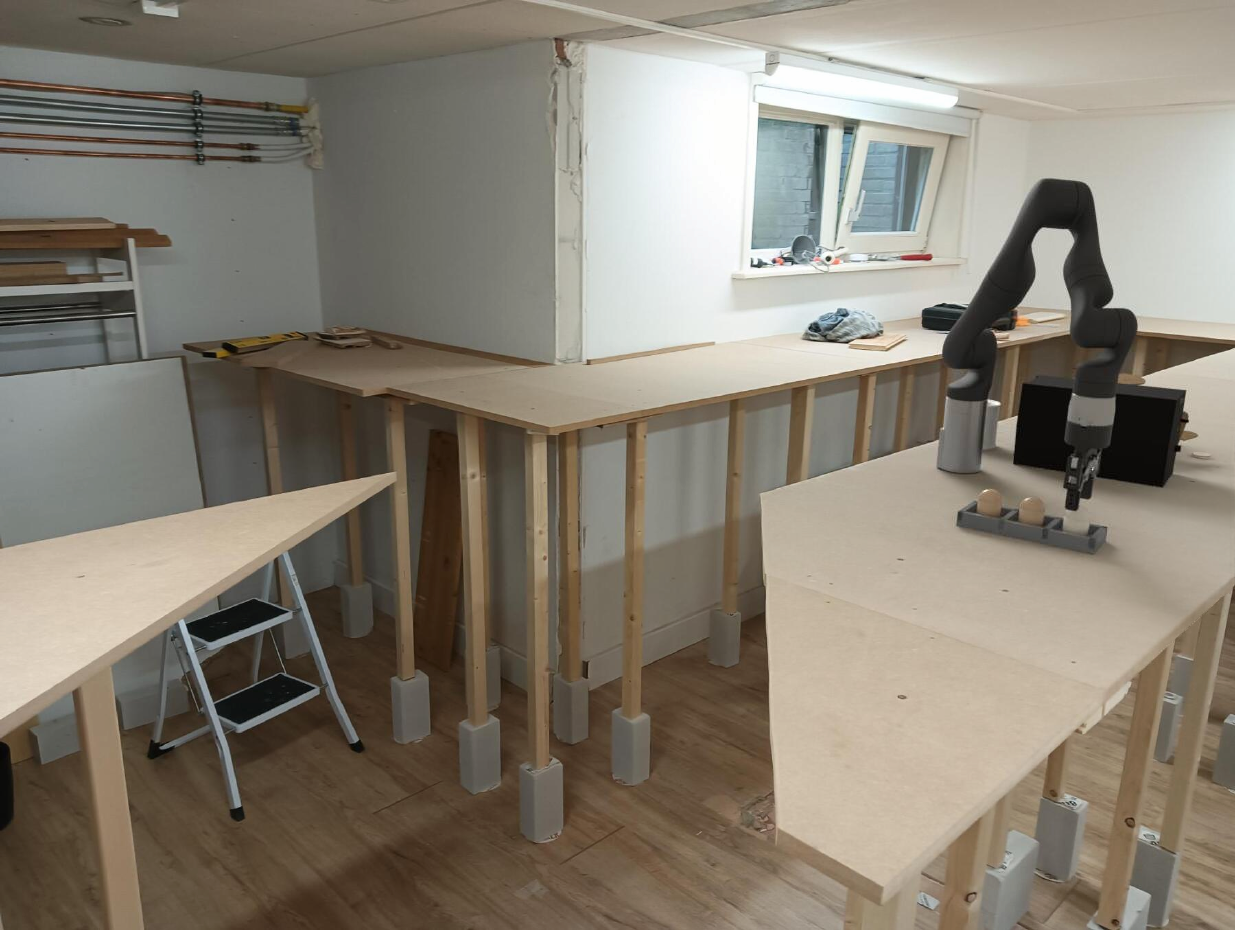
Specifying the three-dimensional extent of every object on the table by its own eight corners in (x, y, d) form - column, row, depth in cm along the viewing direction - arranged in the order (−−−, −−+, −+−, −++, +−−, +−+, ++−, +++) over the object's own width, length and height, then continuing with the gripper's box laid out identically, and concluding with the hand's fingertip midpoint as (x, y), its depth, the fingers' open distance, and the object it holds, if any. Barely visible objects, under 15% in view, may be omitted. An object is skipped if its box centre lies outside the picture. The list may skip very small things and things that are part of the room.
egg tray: (956, 525, 186) (957, 511, 185) (972, 513, 193) (974, 500, 192) (1092, 554, 171) (1095, 539, 170) (1105, 540, 177) (1107, 526, 177)
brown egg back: (972, 519, 186) (975, 489, 185) (980, 514, 189) (983, 484, 188) (995, 524, 183) (998, 494, 182) (1002, 518, 187) (1006, 488, 185)
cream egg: (1058, 537, 176) (1063, 505, 175) (1065, 531, 180) (1069, 500, 178) (1083, 542, 174) (1088, 510, 172) (1090, 536, 177) (1094, 505, 175)
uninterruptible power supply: (1030, 451, 241) (1039, 374, 235) (1181, 474, 221) (1195, 389, 215) (1011, 465, 228) (1021, 383, 223) (1170, 490, 208) (1184, 401, 203)
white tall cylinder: (1001, 450, 241) (1010, 373, 236) (965, 450, 242) (973, 372, 236) (986, 440, 252) (994, 365, 246) (951, 440, 252) (959, 365, 246)
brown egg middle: (1014, 528, 181) (1018, 497, 180) (1021, 522, 185) (1025, 492, 183) (1038, 533, 179) (1042, 502, 177) (1045, 527, 182) (1049, 496, 180)
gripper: (1079, 409, 178) (1067, 491, 183) (1056, 423, 168) (1044, 509, 172) (1122, 415, 173) (1109, 499, 178) (1102, 429, 163) (1089, 518, 167)
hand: (1077, 504), depth 175 cm, fingers open, 8 cm apart
